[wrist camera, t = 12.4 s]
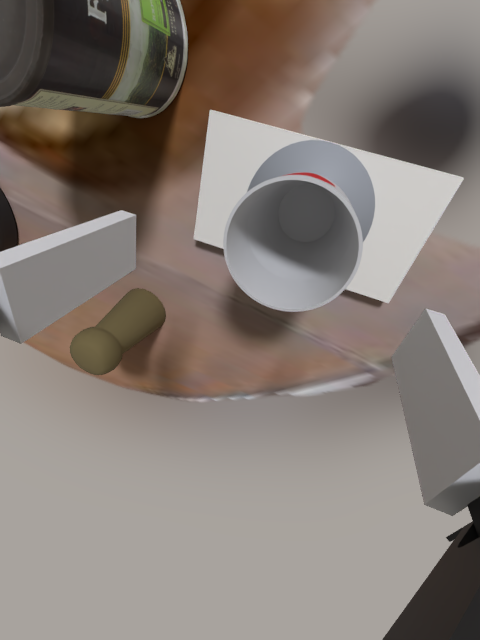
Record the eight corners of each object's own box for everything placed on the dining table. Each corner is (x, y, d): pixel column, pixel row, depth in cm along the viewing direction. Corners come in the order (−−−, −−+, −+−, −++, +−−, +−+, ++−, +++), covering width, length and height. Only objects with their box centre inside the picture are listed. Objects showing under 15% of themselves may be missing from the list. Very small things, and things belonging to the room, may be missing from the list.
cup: (378, 210, 24) (396, 249, 16) (306, 276, 28) (291, 333, 20) (305, 137, 23) (283, 138, 14) (242, 218, 27) (199, 254, 19)
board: (198, 235, 31) (192, 239, 30) (215, 110, 25) (208, 109, 24) (387, 297, 29) (388, 304, 27) (458, 176, 22) (465, 178, 21)
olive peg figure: (158, 336, 40) (105, 392, 32) (120, 313, 40) (57, 363, 31) (171, 304, 37) (116, 358, 28) (130, 279, 37) (61, 325, 28)
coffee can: (144, -98, 20) (-132, -416, 8) (210, 79, 24) (85, 26, 12) (53, 6, 24) (-206, -108, 13) (121, 139, 28) (-30, 143, 17)
